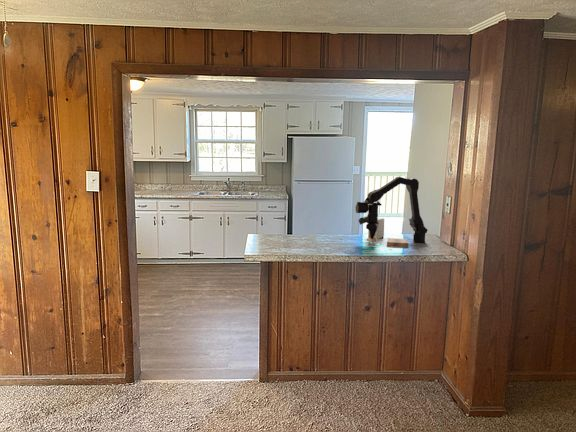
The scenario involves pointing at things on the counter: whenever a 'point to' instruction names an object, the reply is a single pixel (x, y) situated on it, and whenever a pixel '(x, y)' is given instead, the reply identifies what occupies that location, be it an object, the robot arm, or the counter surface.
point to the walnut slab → (397, 242)
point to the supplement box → (380, 228)
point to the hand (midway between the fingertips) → (372, 238)
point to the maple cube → (370, 237)
